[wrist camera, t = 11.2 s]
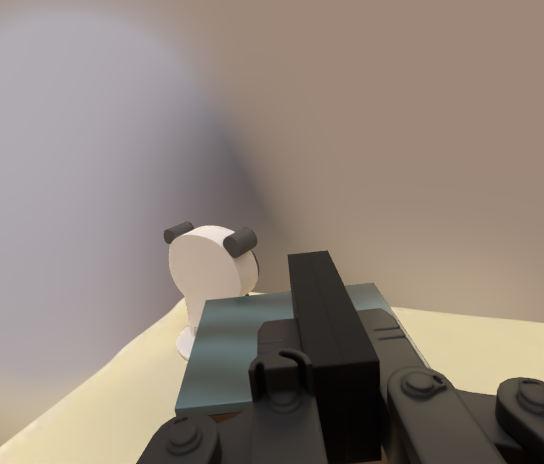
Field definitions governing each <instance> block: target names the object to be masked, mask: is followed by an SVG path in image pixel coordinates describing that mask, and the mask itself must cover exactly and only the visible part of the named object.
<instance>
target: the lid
mask: <svg viewBox="0 0 544 464" xmlns="http://www.w3.org/2000/svg"><path fill="white" fill-rule="evenodd" d="M345 288H346V290H347V292H348V295H349V297H350V299H351V301H352V303H353V305H354V307H355V309H356V311H357V310H367V309H377V308H382V309H383V310H385V311H386V312H388V313H389V314H391V315H393V316H394V318H395V319H396V321H397V322H398V324H399V325H400V328H401V329H402V330H403V331H404V333H405V335H406V338H408V339H409V341H410V342H411V344H412V345H413V347H414V348H415V350H416V352H417V353H418V355H419V356H420V358H421V359H422V361H423V362H424V364H425V366H426V367H427V368H429V369H431V368H430V366H429V365H428V363H427V362H426V360H425V359H424V357H423V356H422V354H421V353H420V351H419V350H418V348H417V347H416V345H415V344H414V342H413V341H412V339H411V338H410V336H409V335H408V333H407V332H406V330H405V329H404V327H403V326H402V324H401V323H400V321H399V320H398V318H397V317H396V316H395V314H394V313H393V311H392V310H391V308H390V307H389V305H388V304H387V302H386V301H385V299H384V298H383V296H382V295H381V293H380V292H379V290H378V289H377V287H376V286H375V284H374V283H366V284H357V285H347V286H345ZM292 318H294V316H293V305H292V295H291V291H289V292H281V293H272V294H271V293H270V294H261V295H251V296H241V297H232V298H222V299H213V300H206V301H205V305H204V308H203V312H202V315H201V319H200V322H199V326H198V329H197V332H196V336H195V339H194V343H193V346H192V350H191V353H190V357H189V360H188V364H187V367H186V371H185V374H184V378H183V381H182V385H181V388H180V392H179V395H178V399H177V402H176V406H175V413H176V417H177V416H179V415H182V414H185V413H197V412H198V413H202V414H205V415H214V414H224V413H233V412H243V411H244V410H246V409H247V408H248V406H249V405H250V404H251V403H252V395H251V388H250V381H249V374H248V369H249V366H250V364H251V362H252V361H253V360H254V359H255V358H256V357H257V345H258V344H257V334H258V330H259V329H260V327H261V326H262V324H263V323H264V321H273V320H282V319H292Z"/></svg>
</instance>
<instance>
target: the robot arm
mask: <svg viewBox="0 0 544 464" xmlns="http://www.w3.org/2000/svg"><path fill="white" fill-rule="evenodd" d="M288 264H289V273H290V284H291V295H292V305H293V316H294V318H292V319H282V320H273V321H264V323H263V324H262V326H261V327H260V329H259V330H258V334H257V344H258V345H257V357H256V358H255V359H254V360H253V361H252V362H251V364H250V366H249V369H248V374H249V381H250V388H251V395H252V403H251V404H250V405H249V406H248V408H247V409H246V410H244V411H243V412H241V413H240V414H239V415H237V416H234V417H232V418H230V419H228V420H225V421H222V422H220V423H217V424H216V421H214V420H213V419H212V418H211V417H210V416H208V415H205V414H202V413H198V412H197V413H185V414H182V415H179V416H177V417H174V418H172V419H171V420H169V421H168V422H166V423H165V424H163V425H162V426H161V427H160V428H159V429H158V431H157V432H156V433H155V434H154V435H153V437H152V439H151V440H150V442H149V443H148V445H147V447H146V448H145V450H144V452H143V453H142V455H141V457H140V458H139V460H138V461H137V463H136V464H353V463H363V462H373V461H382V453H381V444H382V447H383V449H384V452H385V455H386V458H387V460H388V464H544V382H543V381H540V380H537V379H531V378H522V377H519V378H511V379H507V380H506V381H504V382H502V383H500V385H499V388H498V390H497V396H495V395H487V394H480V393H472V392H467V391H462V390H458V389H455V388H454V386H453V385H452V383H451V382H450V381H449V380H448V379H447V378H446V377H445V376H444V375H442V374H440V373H438V372H436V371H435V370H433V369H429V368H427V367H426V366H425V364H424V362H423V361H422V359H421V358H420V356H419V355H418V353H417V352H416V350H415V348H414V347H413V345H412V344H411V342H410V341H409V339H408V338H406V335H405V333H404V331H403V330H402V329H401V328H400V325H399V324H398V322H397V321H396V319H395V318H394V316H393V315H391V314H389V313H388V312H386V311H385V310H383V309H382V308H377V309H367V310H357V311H356V309H355V307H354V305H353V303H352V301H351V299H350V297H349V295H348V292H347V290H346V288H345V286H344V284H343V282H342V280H341V278H340V276H339V274H338V271H337V270H336V267H335V265H334V263H333V261H332V259H331V257H330V255H329V253H328V251H319V252H310V253H300V254H290V255H288Z"/></svg>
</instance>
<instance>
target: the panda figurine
mask: <svg viewBox="0 0 544 464" xmlns="http://www.w3.org/2000/svg"><path fill="white" fill-rule="evenodd" d="M164 239H165V241H166V243H168V244H171V245H170V249H169V268H170V272H171V275H172V278H173V280H174V282H175V284H176V285H177V287H178V288H179V290H180V291H181V292H182V293H183V294H184V296H185V301H186V306H187V312H188V317H189V325H188V326H187V327H186V328H185V329H184V330H183V331H182V332H181V333H180V335H179V336H178V338H177V343H176V344H177V350H178V352H179V354H180V355H181V356H182V357H183V358H185V359H187V360H189V357H190V353H191V350H192V346H193V343H194V339H195V336H196V332H197V329H198V326H199V322H200V319H201V315H202V312H203V308H204V305H205V301H206V300H213V299H222V298H232V297H241V296H249V294H248V293H249V292H250V291H251V290H252V289H253V287H254V286H255V284H256V281H257V279H258V276H259V265H258V262H257V259H256V256H255V254H254V253H253V251H252V250H251V249H252V248H254V247H255V246H256V244H257V237H256V235H255V233H254V232H253V231H252V230H251V229H250V228H248V227H244V228H242V229H240V230H238V231H237V232H233V231H231V230H229V229H226V228H223V227H219V226H202V227H199V228H196V229H194V227H193V225H192V224H191V223H190V222H184V223H182V224H179V225H177V226H175V227H172V228H170V229H167V230H165V231H164Z"/></svg>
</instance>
